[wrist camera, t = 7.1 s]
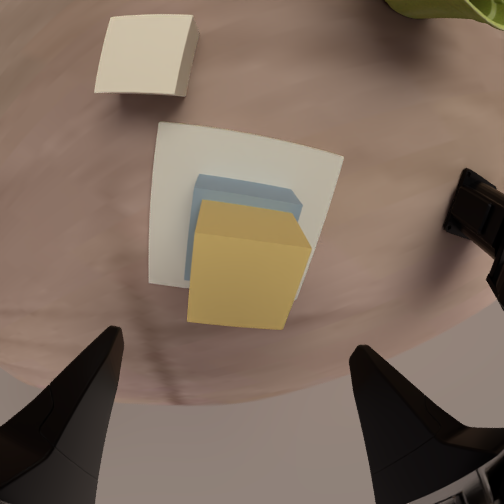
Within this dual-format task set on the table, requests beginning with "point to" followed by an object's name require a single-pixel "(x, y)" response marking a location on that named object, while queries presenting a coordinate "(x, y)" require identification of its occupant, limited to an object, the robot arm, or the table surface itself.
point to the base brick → (237, 201)
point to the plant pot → (453, 10)
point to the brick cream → (148, 55)
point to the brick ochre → (245, 266)
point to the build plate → (235, 167)
